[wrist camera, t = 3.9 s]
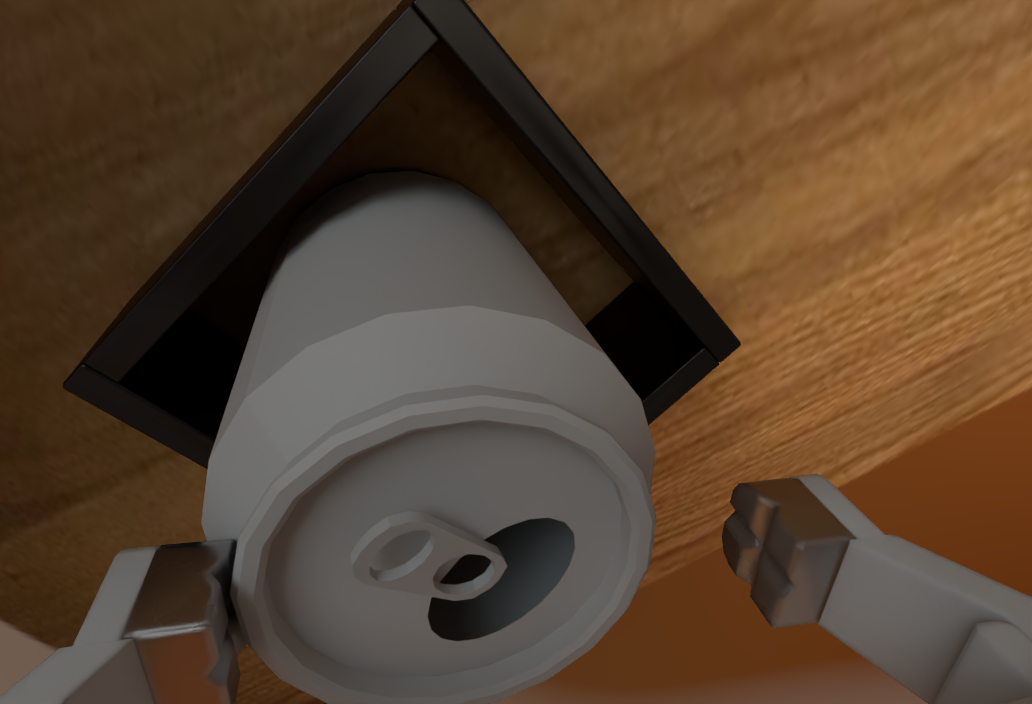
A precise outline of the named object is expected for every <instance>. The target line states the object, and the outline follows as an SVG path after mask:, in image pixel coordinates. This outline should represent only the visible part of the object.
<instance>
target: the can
mask: <svg viewBox="0 0 1032 704" xmlns="http://www.w3.org/2000/svg"><path fill="white" fill-rule="evenodd" d="M654 457H655V448H654V445H653V441H652V438H651V434H650V430H649V427H648V423H647V420H646V416H645V413H644V409H643V405H642V402H641V399H640V398H639V396H638V395H637V394H636V392H635V391H634V390H633V389H632V387H631V386H630V385H629V383H628V382H627V381H626V379H625V378H624V377H623V375H622V374H621V373H620V372H619V370H618V369H617V368H616V366H615V365H614V364H613V362H612V361H611V360H610V359H609V357H608V356H607V355H606V353H605V352H604V351H603V349H602V348H601V347H600V346H599V344H598V343H597V342H596V340H595V339H594V338H593V336H592V335H591V334H590V333H589V331H588V330H587V329H586V327H585V326H584V325H583V323H582V322H581V321H580V319H579V318H578V317H577V316H576V314H575V313H574V312H573V310H572V309H571V308H570V306H569V305H568V304H567V303H566V301H565V300H564V299H563V297H562V296H561V295H560V293H559V292H558V291H557V290H556V288H555V287H554V286H553V284H552V283H551V282H550V280H549V279H548V278H547V276H546V275H545V274H544V273H543V271H542V270H541V269H540V267H539V266H538V265H537V263H536V262H535V261H534V260H533V258H532V257H531V256H530V254H529V253H528V252H527V250H526V249H525V248H524V247H523V245H522V244H521V243H520V241H519V240H518V239H517V237H516V236H515V235H514V233H513V232H512V231H511V230H510V228H509V227H508V226H507V225H506V223H505V222H504V221H503V220H502V218H501V217H500V216H499V215H498V213H497V212H496V211H495V210H494V208H493V207H492V206H491V205H490V204H489V203H488V202H486V201H485V200H483V199H482V198H480V197H479V196H477V195H475V194H474V193H472V192H471V191H469V190H468V189H466V188H465V187H463V186H461V185H460V184H458V183H457V182H455V181H451V180H447V179H443V178H439V177H436V176H432V175H428V174H424V173H420V172H416V171H404V172H388V173H372V174H368V175H365V176H363V177H360V178H358V179H355V180H353V181H350V182H348V183H345V184H343V185H340V186H338V187H335V188H333V189H330V190H329V191H327V192H326V193H325V194H324V195H323V196H322V197H321V198H319V199H318V200H317V201H316V202H315V203H314V204H312V205H311V206H310V207H309V208H308V209H307V210H306V211H304V212H303V213H302V214H301V215H300V216H299V217H297V219H296V220H295V222H294V224H293V226H292V228H291V229H290V231H289V233H288V235H287V236H286V238H285V240H284V242H283V244H282V245H281V247H280V249H279V251H278V253H277V255H276V258H275V261H274V264H273V267H272V270H271V273H270V276H269V279H268V282H267V285H266V288H265V291H264V294H263V297H262V300H261V303H260V306H259V309H258V312H257V315H256V318H255V321H254V324H253V328H252V331H251V334H250V337H249V340H248V343H247V346H246V349H245V352H244V355H243V358H242V361H241V364H240V367H239V370H238V373H237V376H236V379H235V382H234V385H233V388H232V391H231V394H230V397H229V400H228V403H227V406H226V409H225V413H224V416H223V419H222V422H221V425H220V428H219V431H218V434H217V437H216V440H215V443H214V446H213V449H212V452H211V455H210V458H209V462H208V471H207V479H206V487H205V495H204V504H203V512H202V520H201V524H202V527H203V530H204V533H205V536H206V539H207V541H215V540H226V539H235V540H236V542H237V549H236V556H235V562H234V569H233V576H232V582H231V589H230V596H231V599H232V602H233V605H234V609H235V612H236V615H237V618H238V621H239V624H240V627H241V630H242V633H243V636H244V639H245V642H246V643H247V644H248V646H249V647H250V648H251V649H252V650H253V651H254V652H255V653H256V654H257V655H258V656H259V657H260V658H261V659H262V661H263V662H264V663H265V664H266V665H267V666H268V667H269V668H270V669H271V670H272V671H273V672H274V673H275V674H276V676H277V677H278V678H279V679H280V680H282V681H284V682H286V683H288V684H290V685H292V686H294V687H296V688H298V689H300V690H302V691H304V692H306V693H308V694H310V695H312V696H314V697H316V698H318V699H320V700H322V701H324V702H326V703H328V704H489V703H493V702H497V701H500V700H502V699H504V698H506V697H508V696H511V695H513V694H515V693H518V692H520V691H522V690H524V689H527V688H529V687H531V686H534V685H536V684H538V683H540V682H543V681H545V680H547V679H549V678H550V677H552V676H553V675H555V674H556V673H558V672H559V671H560V670H562V669H563V668H565V667H566V666H568V665H569V664H570V663H572V662H573V661H575V660H576V659H577V658H579V657H580V656H582V655H583V654H585V653H586V652H587V651H589V650H590V649H592V648H593V647H594V646H595V645H596V643H597V642H598V641H599V640H600V639H601V638H602V637H603V636H604V635H605V633H606V632H607V631H608V630H609V629H610V628H611V627H612V625H614V623H615V622H616V621H617V620H618V619H619V618H620V617H621V616H622V615H623V613H624V612H625V611H626V610H627V609H628V607H629V606H630V604H631V601H632V600H633V597H634V596H635V593H636V591H637V589H638V587H639V585H640V583H641V581H642V579H643V577H644V575H645V573H646V571H647V569H648V567H649V565H650V563H651V556H652V547H653V539H654V530H655V522H656V515H655V511H654V508H653V505H652V501H651V498H650V493H651V484H652V475H653V466H654Z"/></svg>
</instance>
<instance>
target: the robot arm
mask: <svg viewBox="0 0 1032 704" xmlns="http://www.w3.org/2000/svg"><path fill="white" fill-rule="evenodd" d="M730 503H731V504H732V506H733V507H734V509H735V512H734V513H733V514H732V515H731V516H730V517H729V518H728V519H727V520H726V521H725V524H724V528H723V533H722V542H723V549H724V554H725V556H726V559H727V561H728V564H729V565H730V567H731V568H732V570H733V571H734V573H735V575H736V576H738V577H739V578H741V579H743V580H744V581H746V582H748V583H750V584H751V594H750V597H751V598H752V600H753V601H754V602H755V604H756V605H757V607H758V608H759V610H760V611H761V613H762V614H763V615H764V617H765V618H766V620H767V621H768V623H769V624H770V626H771V627H772V628H779V627H786V626H793V625H801V624H808V623H815V622H819V624H818V625H819V626H821V627H822V628H823V629H825V630H826V631H828V632H829V633H830V634H832V635H833V636H834V637H836V638H837V639H839V640H840V641H841V642H843V643H844V644H846V645H847V646H849V647H850V648H851V649H853V650H854V651H856V652H857V653H858V654H860V655H861V656H862V657H864V658H865V659H867V660H868V661H869V662H871V663H872V664H874V665H875V666H876V667H878V668H879V669H881V670H882V671H883V672H885V673H886V674H888V675H889V676H890V677H892V678H893V679H894V680H896V681H897V682H899V683H900V684H901V685H903V686H904V687H906V688H907V689H908V690H910V691H911V692H913V693H914V694H915V695H917V696H918V697H920V698H921V699H923V700H924V701H925V702H927V703H928V704H1032V597H1030V596H1027V595H1025V594H1023V593H1021V592H1019V591H1016V590H1014V589H1012V588H1010V587H1008V586H1005V585H1003V584H1001V583H999V582H996V581H994V580H992V579H990V578H988V577H986V576H983V575H981V574H979V573H977V572H975V571H972V570H970V569H968V568H966V567H964V566H961V565H959V564H957V563H955V562H953V561H951V560H948V559H946V558H944V557H942V556H939V555H937V554H935V553H933V552H931V551H929V550H926V549H924V548H922V547H920V546H918V545H915V544H913V543H911V542H909V541H906V540H904V539H902V538H900V537H898V536H896V535H893V534H892V535H884V534H883V533H882V532H881V531H880V530H879V529H878V528H877V527H876V526H875V525H874V524H873V523H872V522H871V521H870V520H869V519H868V518H867V517H866V516H864V514H863V513H862V512H860V511H859V510H858V509H857V508H856V507H855V506H854V505H853V504H852V503H851V502H850V501H849V500H848V499H847V498H846V497H845V496H844V495H843V494H842V493H841V492H840V491H839V490H838V489H837V488H836V487H835V486H834V485H832V484H831V483H830V482H829V481H828V480H827V479H826V478H825V477H823V476H821V475H818V474H809V475H801V476H794V477H790V478H781V479H772V480H764V481H755V482H747V483H739V484H738V485H737V486H736V487H735V489H734V490H733V493H732V497H731V500H730ZM236 549H237V542H236V540H235V539H226V540H215V541H203V542H192V543H180V544H169V545H161V546H155V547H143V548H131V549H123V550H122V551H121V552H119V553H118V554H117V555H116V556H115V557H114V559H113V561H112V563H111V565H110V568H109V570H108V572H107V574H106V576H105V578H104V580H103V582H102V584H101V587H100V589H99V591H98V593H97V595H96V597H95V599H94V601H93V604H92V606H91V608H90V610H89V612H88V614H87V616H86V618H85V620H84V623H83V625H82V627H81V629H80V631H79V633H78V635H77V637H76V640H75V642H74V644H73V646H72V647H65V648H59V649H58V650H57V651H56V652H54V653H53V654H52V655H51V656H50V657H49V658H47V659H46V660H45V661H44V662H42V663H41V664H40V665H39V666H37V667H36V668H35V669H33V670H32V671H31V672H30V673H29V674H27V675H26V676H25V677H24V678H22V679H21V680H20V681H19V682H17V683H16V684H15V685H14V686H13V687H11V688H10V689H9V690H8V691H6V692H5V693H4V694H3V695H2V696H0V704H235V700H236V695H237V690H238V685H239V679H240V669H239V665H238V660H237V655H238V654H239V653H240V652H241V651H242V650H243V649H244V648H245V647H246V642H245V639H244V636H243V633H242V630H241V627H240V624H239V621H238V618H237V615H236V612H235V609H234V605H233V602H232V599H231V596H230V589H231V582H232V576H233V569H234V562H235V556H236Z"/></svg>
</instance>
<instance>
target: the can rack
mask: <svg viewBox="0 0 1032 704" xmlns="http://www.w3.org/2000/svg"><path fill="white" fill-rule="evenodd" d="M430 50H432V52H433V53H434V54H435V55H436V56H437V57H438V58H439V60H440V61H441V62H442V63H443V64H444V65H445V66H446V68H447V69H448V70H449V71H450V72H451V73H452V74H453V76H454V77H455V78H456V79H457V80H458V81H459V82H460V84H461V85H462V86H463V87H464V88H465V89H466V90H467V92H468V93H469V94H470V95H471V96H472V97H473V98H474V100H475V101H476V102H477V103H478V104H479V105H480V106H481V108H482V109H483V110H484V111H485V112H486V113H487V114H488V115H489V117H490V118H491V119H492V120H493V121H494V122H495V123H496V125H497V126H498V127H499V128H500V129H501V130H502V131H503V133H504V134H505V135H506V136H507V137H508V138H509V139H510V141H511V142H512V143H513V144H514V145H515V146H516V147H517V149H518V150H519V151H520V152H521V153H522V154H523V155H524V157H525V158H526V159H527V160H528V161H529V162H530V163H531V165H532V166H533V167H534V168H535V169H536V170H537V171H538V173H539V174H540V175H541V176H542V177H543V178H544V179H545V181H546V182H547V183H548V184H549V185H550V186H551V187H552V188H553V190H554V191H555V192H556V193H557V194H558V195H559V196H560V198H561V199H562V200H563V201H564V202H565V203H566V204H567V206H568V207H569V208H570V209H571V210H572V211H573V212H574V214H575V215H576V216H577V217H578V218H579V219H580V220H581V222H582V223H583V224H584V225H585V226H586V227H587V228H588V230H589V231H590V232H591V233H592V234H593V235H594V236H595V238H596V239H597V240H598V241H599V242H600V243H601V244H602V246H603V247H604V248H605V249H606V250H607V251H608V252H609V254H610V255H611V256H612V257H613V258H614V259H615V260H616V261H617V263H618V264H619V265H620V266H621V267H622V268H623V269H624V271H625V272H626V273H627V274H628V275H629V276H630V277H631V279H632V280H633V281H634V282H633V283H632V284H630V285H629V286H628V287H627V288H626V289H625V290H624V291H623V292H622V293H621V294H620V295H618V296H617V297H616V298H615V299H614V300H613V301H612V302H611V303H610V304H609V305H607V306H606V307H605V308H604V309H603V310H602V311H601V312H600V313H599V314H598V315H597V316H595V317H594V318H593V319H592V320H591V321H590V322H589V323H588V324H587V325H586V326H585V327H586V329H587V330H588V331H589V333H590V334H591V335H592V336H593V338H594V339H595V340H596V342H597V343H598V344H599V346H600V347H601V348H602V349H603V351H604V352H605V353H606V355H607V356H608V357H609V359H610V360H611V361H612V362H613V364H614V365H615V366H616V368H617V369H618V370H619V372H620V373H621V374H622V375H623V377H624V378H625V379H626V381H627V382H628V383H629V385H630V386H631V387H632V389H633V390H634V391H635V392H636V394H637V395H638V396H639V398H640V399H641V402H642V405H643V409H644V413H645V416H646V420H647V423H648V425H649V424H650V423H652V422H653V421H654V420H655V419H656V418H657V417H659V416H660V415H661V414H662V413H663V412H664V411H666V410H667V409H668V408H669V407H670V406H671V405H673V404H674V403H675V402H676V401H677V400H678V399H680V398H681V397H682V396H683V395H684V394H685V393H687V392H688V391H689V390H690V389H691V388H692V387H694V386H695V385H696V384H697V383H698V382H699V381H701V380H702V379H703V378H704V377H705V376H706V375H707V374H709V373H710V372H711V371H712V370H713V369H714V368H716V367H717V366H718V365H719V363H718V362H722V361H723V360H724V359H725V358H727V357H728V356H729V355H730V354H731V353H732V352H734V351H735V350H736V349H737V348H738V347H739V346H740V345H741V343H740V341H739V340H738V339H737V337H736V336H735V335H734V334H733V332H732V331H731V330H730V329H729V327H728V326H727V325H726V324H725V322H724V321H723V320H722V319H721V317H720V316H719V315H718V314H717V313H716V311H715V310H714V309H713V308H712V306H711V305H710V304H709V303H708V301H707V300H706V299H705V298H704V296H703V295H702V294H701V293H700V291H699V290H698V289H697V288H696V287H695V285H694V284H693V283H692V282H691V280H690V279H689V278H688V277H687V275H686V274H685V273H684V272H683V270H682V269H681V268H680V267H679V266H678V264H677V263H676V262H675V261H674V259H673V258H672V257H671V256H670V254H669V253H668V252H667V251H666V249H665V248H664V247H663V246H662V244H661V243H660V242H659V241H658V240H657V238H656V237H655V236H654V235H653V233H652V232H651V231H650V230H649V228H648V227H647V226H646V225H645V223H644V222H643V221H642V220H641V218H640V217H639V216H638V215H637V214H636V212H635V211H634V210H633V209H632V207H631V206H630V205H629V204H628V202H627V201H626V200H625V199H624V197H623V196H622V195H621V194H620V192H619V191H618V190H617V189H616V188H615V186H614V185H613V184H612V183H611V181H610V180H609V179H608V178H607V176H606V175H605V174H604V173H603V171H602V170H601V169H600V168H599V167H598V165H597V164H596V163H595V162H594V160H593V159H592V158H591V157H590V155H589V154H588V153H587V152H586V150H585V149H584V148H583V147H582V145H581V144H580V143H579V142H578V141H577V139H576V138H575V137H574V136H573V134H572V133H571V132H570V131H569V129H568V128H567V127H566V126H565V124H564V123H563V122H562V121H561V119H560V118H559V117H558V116H557V115H556V113H555V112H554V111H553V110H552V108H551V107H550V106H549V105H548V103H547V102H546V101H545V100H544V98H543V97H542V96H541V95H540V93H539V92H538V91H537V90H536V89H535V87H534V86H533V85H532V84H531V82H530V81H529V80H528V79H527V77H526V76H525V75H524V74H523V72H522V71H521V70H520V69H519V68H518V66H517V65H516V64H515V63H514V61H513V60H512V59H511V58H510V56H509V55H508V54H507V53H506V51H505V50H504V49H503V48H502V46H501V45H500V44H499V43H498V42H497V40H496V39H495V38H494V37H493V35H492V34H491V33H490V32H489V30H488V29H487V28H486V27H485V25H484V24H483V23H482V22H481V20H480V19H479V18H478V17H477V16H476V14H475V13H474V12H473V11H472V9H471V8H470V7H469V6H468V4H467V3H466V2H465V1H464V0H402V1H401V2H400V4H399V5H398V6H397V8H396V10H393V11H392V12H391V13H390V15H389V16H388V17H387V18H386V19H385V20H384V21H383V22H382V23H381V24H380V26H379V27H378V28H377V29H376V30H375V31H374V32H373V33H372V34H371V35H370V37H369V38H368V39H367V40H366V41H365V42H364V43H363V44H362V45H361V46H360V48H359V49H358V50H357V51H356V52H355V53H354V54H353V55H352V56H351V57H350V58H349V60H348V61H347V62H346V63H345V64H344V65H343V66H342V67H341V68H340V69H339V71H338V72H337V73H336V74H335V75H334V76H333V77H332V78H331V79H330V80H329V82H328V83H327V84H326V85H325V86H324V87H323V88H322V89H321V90H320V91H319V93H318V94H317V95H316V96H315V97H314V98H313V99H312V100H311V101H310V102H309V104H308V105H307V106H306V107H305V108H304V109H303V110H302V111H301V112H300V113H299V115H298V116H297V117H296V118H295V119H294V120H293V121H292V122H291V123H290V124H289V126H288V127H287V128H286V129H285V130H284V131H283V132H282V133H281V134H280V135H279V137H278V138H277V139H276V140H275V141H274V142H273V143H272V144H271V145H270V146H269V147H268V149H267V150H266V151H265V152H264V153H263V154H262V155H261V156H260V157H259V158H258V160H257V161H256V162H255V163H254V164H253V165H252V166H251V167H250V168H249V169H248V171H247V172H246V173H245V174H244V175H243V176H242V177H241V178H240V179H239V180H238V182H237V183H236V184H235V185H234V186H233V187H232V188H231V189H230V190H229V191H228V193H227V194H226V195H225V196H224V197H223V198H222V199H221V200H220V201H219V202H218V204H217V205H216V206H215V207H214V208H213V209H212V210H211V211H210V212H209V213H208V215H207V216H206V217H205V218H204V219H203V220H202V221H201V222H200V223H199V224H198V225H197V227H196V228H195V229H194V230H193V231H192V232H191V233H190V234H189V235H188V236H187V238H186V239H185V240H184V241H183V242H182V243H181V244H180V245H179V246H178V247H177V249H176V250H175V251H174V252H173V253H172V254H171V255H170V256H169V257H168V258H167V260H166V261H165V262H164V263H163V264H162V265H161V266H160V267H159V268H158V269H157V271H156V272H155V273H154V274H153V275H152V276H151V277H150V278H149V279H148V281H147V282H146V283H145V284H144V285H143V286H142V287H141V288H140V289H139V290H138V291H137V293H136V294H135V295H134V296H133V297H132V298H131V299H130V301H129V302H128V303H127V304H126V306H125V307H124V308H123V309H122V311H121V312H120V313H119V314H118V316H117V317H116V318H115V319H114V321H113V322H112V323H111V324H110V326H109V327H108V328H107V329H106V330H105V332H104V333H103V334H102V335H101V337H100V338H99V339H98V340H97V342H96V343H95V344H94V345H93V347H92V348H91V349H90V350H89V352H88V353H87V354H86V355H85V357H84V358H83V359H82V360H81V362H80V363H79V364H78V365H77V367H76V368H75V369H74V370H73V372H72V373H71V374H70V375H69V377H68V378H67V379H66V380H65V382H64V383H63V388H64V389H65V390H67V391H69V392H71V393H72V394H74V395H76V396H78V397H79V398H81V399H83V400H85V401H87V402H88V403H90V404H92V405H94V406H96V407H97V408H99V409H101V410H103V411H105V412H106V413H108V414H110V415H112V416H113V417H115V418H117V419H119V420H121V421H122V422H124V423H126V424H128V425H130V426H131V427H133V428H135V429H137V430H138V431H140V432H142V433H144V434H146V435H147V436H149V437H151V438H153V439H155V440H156V441H158V442H160V443H162V444H163V445H165V446H167V447H169V448H171V449H172V450H174V451H176V452H178V453H180V454H181V455H183V456H185V457H187V458H188V459H190V460H192V461H194V462H196V463H197V464H199V465H201V466H203V467H205V468H206V469H208V462H209V458H210V455H211V452H212V449H213V446H214V443H215V440H216V437H217V434H218V431H219V428H220V425H221V422H222V419H223V416H224V413H225V409H226V406H227V403H228V400H229V397H230V394H231V391H232V388H233V385H234V382H235V379H236V376H237V373H238V370H239V367H240V364H241V361H242V358H243V355H244V352H245V349H246V348H244V347H243V346H241V345H240V344H239V343H237V342H236V341H234V340H233V339H231V338H230V337H228V336H227V335H225V334H224V333H223V332H221V331H220V330H218V329H217V328H215V327H214V326H212V325H211V324H209V323H208V322H206V321H205V320H204V319H202V318H201V317H199V316H198V315H196V314H195V313H193V312H192V311H190V310H189V308H190V306H191V305H192V304H193V303H194V302H195V301H196V300H197V299H198V298H199V297H200V296H201V295H202V294H203V293H204V292H205V290H206V289H207V288H208V287H209V286H210V285H211V284H212V283H213V282H214V281H215V280H216V279H217V278H218V277H219V275H220V274H221V273H222V272H223V271H224V270H225V269H226V268H227V267H228V266H229V265H230V264H231V263H232V262H233V261H234V259H235V258H236V257H237V256H238V255H239V254H240V253H241V252H242V251H243V250H244V249H245V248H246V247H247V246H248V244H249V243H250V242H251V241H252V240H253V239H254V238H255V237H256V236H257V235H258V234H259V233H260V232H261V231H262V230H263V228H264V227H265V226H266V225H267V224H268V223H269V222H270V221H271V220H272V219H273V218H274V217H275V216H276V215H277V213H278V212H279V211H280V210H281V209H282V208H283V207H284V206H285V205H286V204H287V203H288V202H289V201H290V200H291V199H292V197H293V196H294V195H295V194H296V193H297V192H298V191H299V190H300V189H301V188H302V187H303V186H304V185H305V184H306V182H307V181H308V180H309V179H310V178H311V177H312V176H313V175H314V174H315V173H316V172H317V171H318V170H319V169H320V168H321V166H322V165H323V164H324V163H325V162H326V161H327V160H328V159H329V158H330V157H331V156H332V155H333V154H334V153H335V151H336V150H337V149H338V148H339V147H340V146H341V145H342V144H343V143H344V142H345V141H346V140H347V139H348V138H349V137H350V135H351V134H352V133H353V132H354V131H355V130H356V129H357V128H358V127H359V126H360V125H361V124H362V123H363V122H364V121H365V119H366V118H367V117H368V116H369V115H370V114H371V113H372V112H373V111H374V110H375V109H376V108H377V107H378V106H379V104H380V103H381V102H382V101H383V100H384V99H385V98H386V97H387V96H388V95H389V94H390V93H391V92H392V91H393V90H394V88H395V87H396V86H397V85H398V84H399V83H400V82H401V81H402V80H403V79H404V78H405V77H406V76H407V75H408V73H409V72H410V71H411V70H412V69H413V68H414V67H415V66H416V65H417V64H418V63H419V62H420V61H421V60H422V59H423V57H424V56H425V55H426V54H427V53H428V52H429V51H430Z"/></svg>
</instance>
